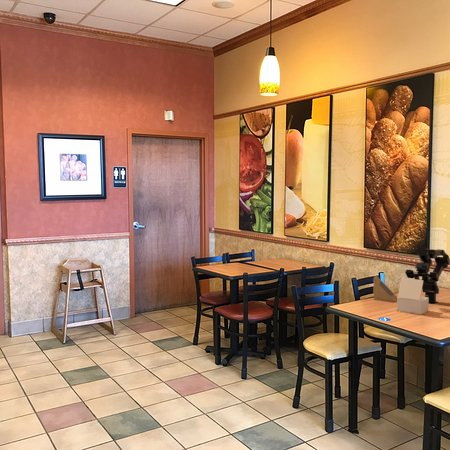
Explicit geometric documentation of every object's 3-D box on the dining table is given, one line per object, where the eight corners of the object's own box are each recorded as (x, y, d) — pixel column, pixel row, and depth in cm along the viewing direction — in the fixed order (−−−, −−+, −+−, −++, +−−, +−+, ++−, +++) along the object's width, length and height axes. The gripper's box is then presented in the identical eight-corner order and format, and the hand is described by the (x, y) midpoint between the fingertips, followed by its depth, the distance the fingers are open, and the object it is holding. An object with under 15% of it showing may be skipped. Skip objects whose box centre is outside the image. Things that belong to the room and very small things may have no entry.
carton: (405, 307, 299) (405, 294, 299) (428, 310, 290) (428, 297, 289) (396, 311, 291) (397, 297, 290) (420, 315, 281) (420, 301, 281)
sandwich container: (397, 302, 313) (398, 279, 312) (373, 300, 320) (373, 277, 319) (400, 299, 320) (400, 277, 319) (376, 297, 328) (376, 275, 327)
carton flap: (401, 278, 292) (401, 277, 292) (423, 280, 284) (423, 280, 283) (398, 297, 289) (397, 297, 289) (419, 300, 281) (419, 300, 280)
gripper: (406, 256, 304) (398, 276, 296) (437, 259, 291) (430, 280, 284) (411, 267, 310) (404, 287, 303) (442, 270, 297) (435, 291, 290)
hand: (417, 286), depth 295 cm, fingers closed
